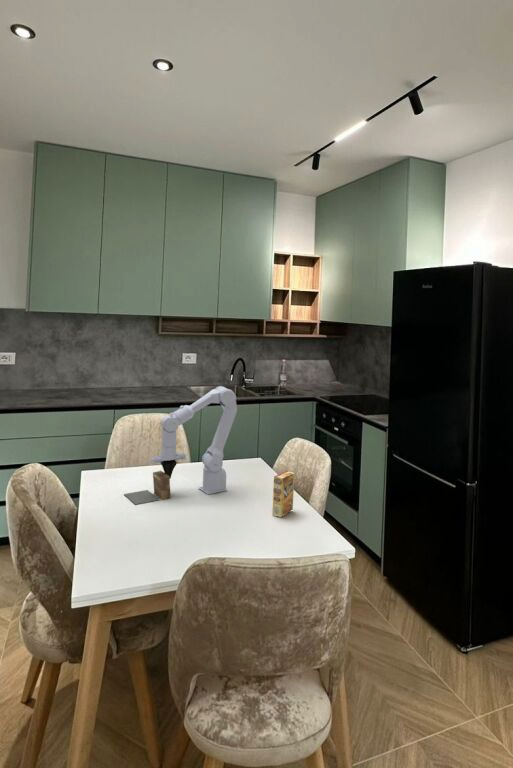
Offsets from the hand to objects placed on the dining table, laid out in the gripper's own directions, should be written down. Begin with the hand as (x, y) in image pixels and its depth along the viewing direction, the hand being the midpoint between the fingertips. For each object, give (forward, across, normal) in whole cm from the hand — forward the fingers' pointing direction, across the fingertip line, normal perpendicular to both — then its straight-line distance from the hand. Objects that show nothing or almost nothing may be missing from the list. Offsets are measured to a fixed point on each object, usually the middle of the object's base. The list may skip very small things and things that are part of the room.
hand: (168, 478), depth 194 cm
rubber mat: (+7, +10, -2) cm, 13 cm away
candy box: (+7, -30, +38) cm, 49 cm away
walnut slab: (+7, +2, 0) cm, 7 cm away
